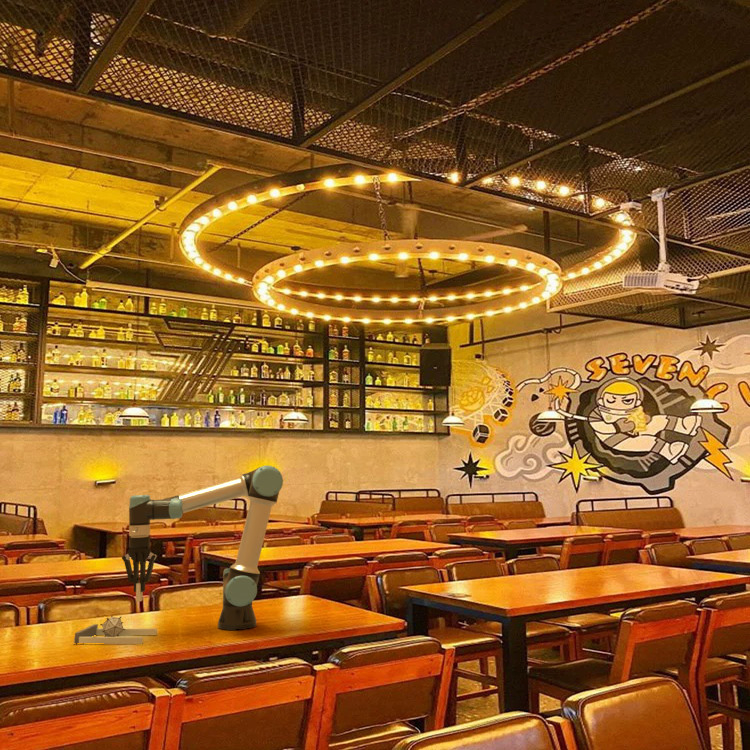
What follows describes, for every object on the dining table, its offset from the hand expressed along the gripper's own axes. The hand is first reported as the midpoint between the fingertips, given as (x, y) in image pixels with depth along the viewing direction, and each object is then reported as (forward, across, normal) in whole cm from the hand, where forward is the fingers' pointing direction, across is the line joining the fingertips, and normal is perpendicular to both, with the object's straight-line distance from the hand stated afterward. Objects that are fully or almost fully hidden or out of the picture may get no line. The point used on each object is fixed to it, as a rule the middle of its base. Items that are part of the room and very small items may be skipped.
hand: (139, 600), depth 276 cm
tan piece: (+14, -8, 0) cm, 16 cm away
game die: (+13, -8, +2) cm, 15 cm away
